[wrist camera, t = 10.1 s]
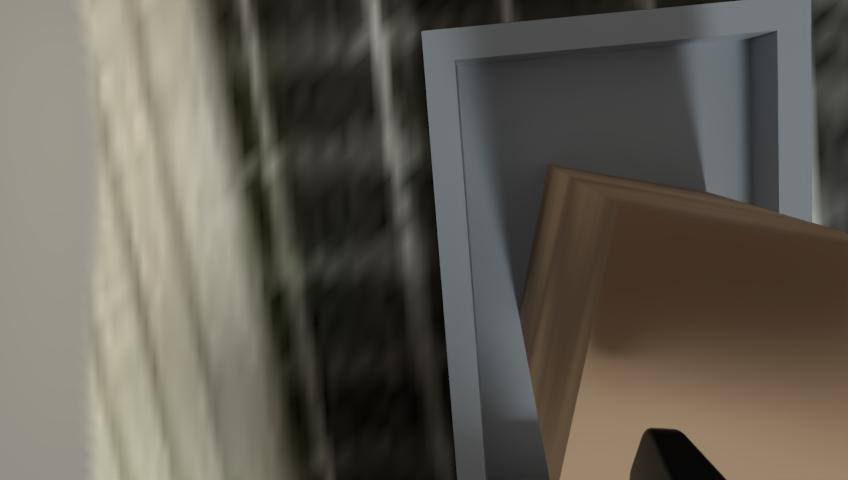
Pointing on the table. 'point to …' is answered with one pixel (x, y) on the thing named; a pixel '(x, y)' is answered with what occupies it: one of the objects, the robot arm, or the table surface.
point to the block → (684, 330)
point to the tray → (592, 163)
